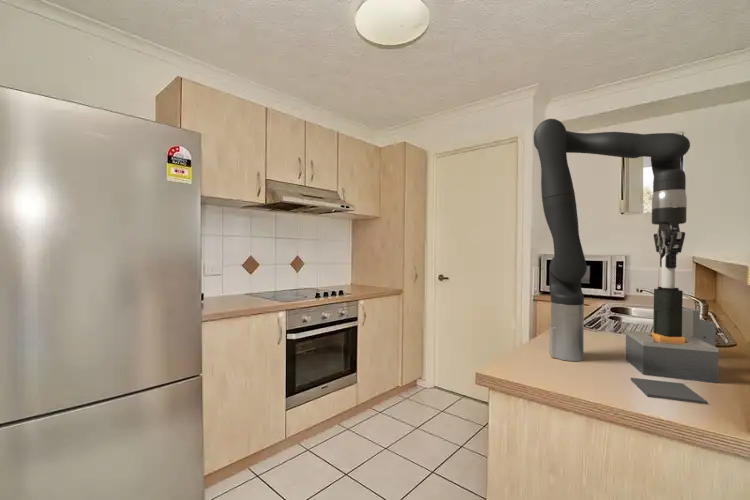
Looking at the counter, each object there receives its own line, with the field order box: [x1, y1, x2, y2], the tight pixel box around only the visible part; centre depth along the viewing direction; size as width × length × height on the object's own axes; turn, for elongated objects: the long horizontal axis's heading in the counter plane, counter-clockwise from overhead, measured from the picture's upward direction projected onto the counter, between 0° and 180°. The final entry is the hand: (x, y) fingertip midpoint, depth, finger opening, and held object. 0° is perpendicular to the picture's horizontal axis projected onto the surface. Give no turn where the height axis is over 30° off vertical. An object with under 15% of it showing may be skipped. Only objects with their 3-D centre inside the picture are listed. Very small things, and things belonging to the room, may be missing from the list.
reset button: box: [651, 331, 685, 343], centre depth 98 cm, size 6×6×7 cm
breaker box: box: [625, 330, 719, 384], centre depth 98 cm, size 16×14×9 cm
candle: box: [652, 254, 684, 337], centre depth 98 cm, size 5×5×25 cm
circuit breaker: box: [682, 306, 718, 347], centre depth 113 cm, size 8×14×15 cm, turn 78°
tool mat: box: [630, 377, 708, 405], centre depth 83 cm, size 11×11×1 cm
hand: (667, 267), depth 97 cm, fingers closed on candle, 3 cm apart
